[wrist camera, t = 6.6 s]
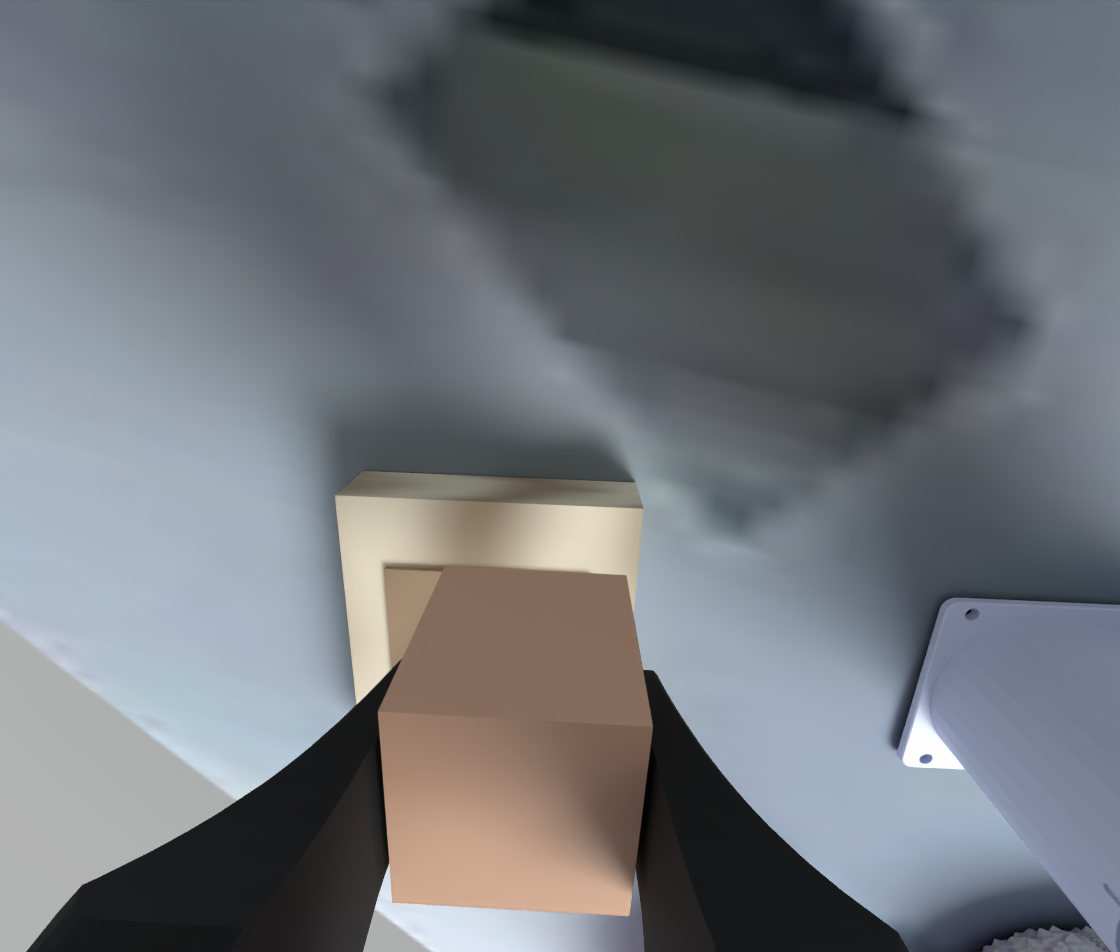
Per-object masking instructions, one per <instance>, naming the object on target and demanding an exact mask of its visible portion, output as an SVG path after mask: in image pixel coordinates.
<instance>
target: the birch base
mask: <svg viewBox="0 0 1120 952" xmlns="http://www.w3.org/2000/svg"><path fill="white" fill-rule="evenodd" d="M335 502H336V512H337V521H338V531H339V541H340V550H341V560H342V570H343V580H344V589H345V599H346V609H347V618H348V628H349V638H350V647H351V657H352V667H353V677H354V686H355V696H356V705H357V704H358V703H359V702H360V701H361V700H362V699H363V698H364V697H365V696H366V695H367V694H368V693H369V692H370V691H371V690H372V689H373V688H374V687H375V686H376V685H377V684H378V683H379V682H380V680H381V679H382V678H383V677H384V676H385V675H386V674H387V673H388V672H389V671H390V670H391V669H392V668H393V667H394V666H395V665H396V664H397V663H398V662H399V661H400V660H401V659H402V658H403V656H404V654H405V652H406V649H407V647H408V645H409V643H410V641H411V638H412V636H413V634H414V632H415V630H416V628H417V625H418V623H419V621H420V619H421V617H422V615H423V612H424V610H425V608H426V606H427V604H428V602H429V599H430V597H431V595H432V593H433V591H434V589H435V586H436V584H437V582H438V580H439V578H440V575H441V573H442V571H443V569H444V567H445V566H464V567H483V568H502V569H521V570H540V571H559V572H578V573H597V574H616V575H626V576H627V581H628V587H629V593H630V598H631V604H632V610H633V615H634V607H635V596H636V585H637V574H638V563H639V552H640V542H641V531H642V520H643V505H642V502H641V499H640V495H639V492H638V489H637V485H636V483H635V482H611V481H588V480H564V479H541V478H517V477H494V476H470V475H447V474H423V473H400V472H376V471H362V472H361V473H360V474H359V475H357V476H356V477H355V478H354V479H353V480H352V481H351V482H349V483H348V484H347V485H346V486H345V487H344V488H343V489H342V490H340V491H339V492H338V493H337V494H336V495H335Z"/></svg>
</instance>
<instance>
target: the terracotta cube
mask: <svg viewBox="0 0 1120 952" xmlns="http://www.w3.org/2000/svg"><path fill="white" fill-rule="evenodd" d="M378 720H379V733H380V746H381V760H382V773H383V786H384V799H385V812H386V825H387V838H388V851H389V864H390V877H391V890H392V903H409V904H426V905H443V906H461V907H478V908H495V909H512V910H529V911H546V912H563V913H580V914H597V915H614V916H629V915H630V907H631V899H632V891H633V883H634V875H635V867H636V859H637V851H638V843H639V835H640V827H641V819H642V811H643V803H644V795H645V787H646V779H647V771H648V763H649V755H650V747H651V739H652V731H653V724H652V718H651V712H650V707H649V701H648V695H647V690H646V684H645V678H644V673H643V667H642V661H641V655H640V650H639V644H638V638H637V633H636V627H635V621H634V615H633V610H632V604H631V598H630V593H629V587H628V581H627V576H626V575H616V574H597V573H578V572H559V571H540V570H521V569H502V568H483V567H464V566H445V567H444V569H443V571H442V573H441V575H440V578H439V580H438V582H437V584H436V586H435V589H434V591H433V593H432V595H431V597H430V599H429V602H428V604H427V606H426V608H425V610H424V612H423V615H422V617H421V619H420V621H419V623H418V625H417V628H416V630H415V632H414V634H413V636H412V638H411V641H410V643H409V645H408V647H407V649H406V652H405V654H404V656H403V658H402V660H401V662H400V665H399V667H398V669H397V671H396V673H395V675H394V678H393V680H392V682H391V684H390V686H389V688H388V691H387V693H386V695H385V697H384V699H383V702H382V704H381V706H380V708H379V710H378Z"/></svg>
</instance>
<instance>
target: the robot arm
mask: <svg viewBox="0 0 1120 952" xmlns="http://www.w3.org/2000/svg"><path fill="white" fill-rule="evenodd" d="M970 609H972V611H971V612H970V613H968V614H966V612H967V611H968V610H970ZM965 614H966V615H965ZM401 660H402V659H401ZM401 660H400V661H399V662H398V663H397V664H396V665H395V666H394V667H393V668H392V669H391V670H390V671H389V672H388V673H387V674H386V675H385V676H384V677H383V678H382V679H381V680H380V682H379V683H378V684H377V685H376V686H375V687H374V688H373V689H372V690H371V691H370V692H369V693H368V694H367V695H366V696H365V697H364V698H363V699H362V700H361V701H360V702H359V703H358V704H357V705H356V706H355V707H354V708H353V709H352V710H350V711H349V712H348V713H347V714H346V715H345V716H344V717H343V718H342V719H341V720H340V721H339V722H338V723H337V724H336V725H335V726H333V727H332V728H331V729H330V730H329V731H328V732H327V733H326V734H324V735H323V736H322V737H321V738H320V739H319V740H318V741H316V742H315V743H314V744H313V745H312V746H311V747H310V748H308V749H307V750H306V751H305V752H304V753H302V754H301V755H300V756H299V757H297V758H296V759H295V760H294V761H292V762H291V763H290V764H289V765H287V766H286V767H285V768H283V769H282V770H281V771H280V772H278V773H277V774H276V775H274V776H273V777H272V778H270V779H269V780H267V781H266V782H265V783H263V784H262V785H260V786H259V787H257V788H256V789H254V790H253V791H251V792H250V793H248V794H247V795H245V796H244V797H242V798H241V799H239V800H238V801H236V802H235V803H233V804H232V805H230V806H229V807H227V808H225V809H224V810H223V811H221V812H219V813H218V814H216V815H215V816H213V817H211V818H210V819H208V820H206V821H205V822H203V823H201V824H199V825H198V826H196V827H195V828H193V829H191V830H189V831H188V832H186V833H184V834H182V835H180V836H179V837H177V838H175V839H173V840H171V841H170V842H168V843H166V844H164V845H162V846H160V847H159V848H157V849H155V850H153V851H151V852H149V853H147V854H145V855H143V856H141V857H139V858H137V859H135V860H133V861H131V862H129V863H127V864H125V865H123V866H121V867H119V868H117V869H115V870H113V871H111V872H109V873H107V874H105V875H103V876H101V877H99V878H97V879H94V880H92V881H90V882H88V883H86V884H84V885H82V886H81V887H80V888H79V889H78V890H77V892H76V893H75V894H74V895H73V896H72V897H71V898H70V899H69V901H68V902H67V903H66V904H65V905H64V906H63V907H62V908H61V910H60V911H59V912H58V913H57V914H56V915H55V917H54V918H53V919H52V920H51V922H50V923H49V924H48V925H47V927H46V928H45V929H44V930H43V932H42V933H41V934H40V935H39V937H38V938H37V939H36V940H35V942H34V943H33V944H32V945H31V947H30V948H29V949H28V950H27V952H363V949H364V945H365V942H366V938H367V934H368V931H369V927H370V923H371V919H372V916H373V912H374V908H375V905H376V901H377V898H378V894H379V891H380V888H381V885H382V882H383V879H384V876H385V873H386V870H387V867H388V865H389V851H388V838H387V825H386V812H385V799H384V786H383V773H382V760H381V746H380V733H379V720H378V710H379V708H380V706H381V704H382V702H383V699H384V697H385V695H386V693H387V691H388V688H389V686H390V684H391V682H392V680H393V678H394V675H395V673H396V671H397V669H398V667H399V665H400V662H401ZM643 673H644V678H645V684H646V690H647V695H648V701H649V707H650V712H651V718H652V724H653V731H652V739H651V747H650V755H649V763H648V771H647V779H646V787H645V795H644V803H643V811H642V819H641V827H640V835H639V843H638V851H637V859H636V867H635V868H636V874H637V880H638V886H639V894H640V902H641V910H642V921H643V934H644V947H645V952H909V950H908V949H907V947H906V945H905V944H904V942H903V941H902V939H901V937H900V935H899V933H898V932H897V931H895V930H894V929H893V928H891V927H890V926H889V925H887V924H886V923H885V922H883V921H882V920H881V919H879V918H878V917H877V916H875V915H874V914H872V913H871V912H870V911H868V910H867V909H866V908H864V907H863V906H862V905H860V904H859V903H858V902H856V901H855V900H854V899H852V898H851V897H850V896H848V895H847V894H845V893H844V892H843V891H842V890H840V889H839V888H838V887H837V886H836V885H834V884H833V883H832V882H831V881H830V880H828V879H827V878H826V877H825V876H824V875H822V874H821V873H820V872H819V871H818V870H816V869H815V868H814V867H813V866H812V865H810V864H809V863H808V862H807V861H806V860H805V859H804V858H802V857H801V856H800V855H799V854H798V853H797V852H796V851H795V850H794V849H793V848H792V847H791V846H790V845H789V844H787V843H786V842H785V841H784V840H783V839H782V838H781V837H780V836H779V835H778V834H777V833H776V832H775V831H774V830H773V829H772V828H770V827H769V826H768V824H767V823H766V822H765V821H764V820H763V819H762V818H761V817H760V816H759V815H758V814H757V813H756V812H755V811H754V810H753V809H752V808H751V807H750V805H749V804H748V803H747V802H746V801H745V800H744V799H743V798H742V797H741V795H740V794H739V793H738V792H737V791H736V790H735V788H734V787H733V786H732V785H731V784H730V783H729V781H728V780H727V779H726V778H725V776H724V775H723V774H722V773H721V771H720V770H719V769H718V767H717V766H716V765H715V764H714V762H713V761H712V760H711V758H710V757H709V756H708V754H707V753H706V752H705V750H704V749H703V748H702V746H701V745H700V743H699V742H698V741H697V739H696V738H695V736H694V735H693V733H692V732H691V730H690V729H689V727H688V726H687V724H686V723H685V721H684V720H683V718H682V717H681V715H680V714H679V712H678V710H677V709H676V707H675V706H674V704H673V702H672V701H671V699H670V697H669V696H668V694H667V692H666V690H665V689H664V687H663V685H662V683H661V681H660V679H659V678H658V676H657V674H656V673H655V672H654V671H652V670H643ZM924 754H925V755H924ZM897 755H898V757H899V759H900V760H901V762H902V763H903V764H904V765H906V766H909V767H926V768H946V769H965V770H966V771H967V772H968V774H969V775H970V776H971V777H972V779H973V780H974V781H975V782H976V784H977V785H978V786H979V787H980V789H981V790H982V791H983V792H984V794H985V795H986V796H987V797H988V799H989V800H990V801H991V802H992V804H993V805H994V806H995V807H996V809H997V810H998V811H999V812H1000V814H1001V815H1002V816H1003V817H1004V819H1005V820H1006V821H1007V822H1008V824H1009V825H1010V826H1011V827H1012V829H1013V830H1014V831H1015V832H1016V834H1017V835H1018V836H1019V837H1020V839H1021V840H1022V841H1023V842H1024V844H1025V845H1026V846H1027V847H1028V849H1029V850H1030V851H1031V852H1032V854H1033V855H1034V856H1035V857H1036V859H1037V860H1038V861H1039V862H1040V864H1041V865H1042V866H1043V867H1044V869H1045V870H1046V871H1047V872H1048V874H1049V875H1050V876H1051V877H1052V879H1053V880H1054V881H1055V882H1056V884H1057V885H1058V886H1059V887H1060V889H1061V890H1062V891H1063V892H1064V894H1065V895H1066V896H1067V897H1068V899H1069V900H1070V901H1071V902H1072V904H1073V905H1074V906H1075V907H1076V909H1077V910H1078V911H1079V912H1080V914H1081V915H1082V916H1083V917H1084V919H1085V920H1086V921H1087V922H1088V924H1089V925H1090V926H1091V927H1092V929H1093V930H1094V931H1095V932H1096V934H1097V935H1098V936H1099V937H1100V939H1101V940H1102V941H1103V942H1104V944H1105V945H1106V946H1107V947H1108V949H1109V950H1110V951H1111V952H1120V605H1110V604H1088V603H1066V602H1043V601H1021V600H999V599H977V598H951V599H949V600H946V601H945V602H944V603H943V604H942V606H941V607H940V610H939V613H938V617H937V620H936V623H935V627H934V630H933V633H932V637H931V640H930V644H929V647H928V650H927V654H926V657H925V660H924V664H923V667H922V670H921V674H920V677H919V680H918V684H917V687H916V690H915V694H914V697H913V700H912V704H911V707H910V711H909V714H908V717H907V721H906V724H905V727H904V731H903V734H902V737H901V741H900V744H899V747H898V751H897ZM922 755H923V756H922Z"/></svg>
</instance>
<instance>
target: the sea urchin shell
mask: <svg viewBox="0 0 1120 952" xmlns="http://www.w3.org/2000/svg"><path fill="white" fill-rule="evenodd" d="M982 952H1111V951H1110V950H1109V949H1108V947H1107V946H1106V945H1105V944H1104V942H1103V941H1102V940H1101V939H1100V937H1099V936H1098V935H1097V934H1096V932H1095V931H1094V930H1093V929H1091V928H1089V927H1087V926H1085V927H1084V928H1083V929H1082V930H1080V929H1078V928H1076V927H1075V928H1074V929H1072V930H1071V931H1070V932H1069V931H1063V930H1060V929H1059V928H1057V927H1055V926H1053V925H1052V927H1051V928H1050V930H1049V931H1047V930H1045V929H1041V928H1039V929H1038V930H1036V931H1035V930H1033V929H1030V928H1028V929H1027V930H1026V931H1024V932H1023V933H1015V934H1014V936H1013V937H1010V938H1009V939H1008V940H1003V941H1002V940H998V939H994V941H993V943H992V945H991V946H984V947H983V951H982Z"/></svg>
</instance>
